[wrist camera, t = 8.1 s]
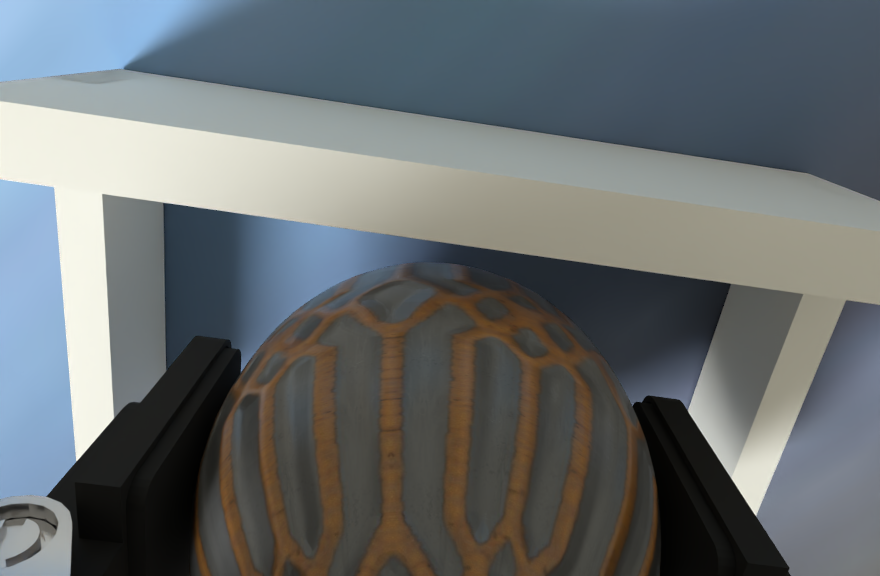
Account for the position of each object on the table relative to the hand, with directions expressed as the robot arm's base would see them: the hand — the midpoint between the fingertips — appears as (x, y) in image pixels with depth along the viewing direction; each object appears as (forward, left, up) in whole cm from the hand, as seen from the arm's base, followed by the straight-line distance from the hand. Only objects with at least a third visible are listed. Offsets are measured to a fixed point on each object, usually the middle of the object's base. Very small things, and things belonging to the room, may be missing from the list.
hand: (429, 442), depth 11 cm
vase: (0, 0, -3) cm, 3 cm away
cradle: (+1, 0, -4) cm, 4 cm away
